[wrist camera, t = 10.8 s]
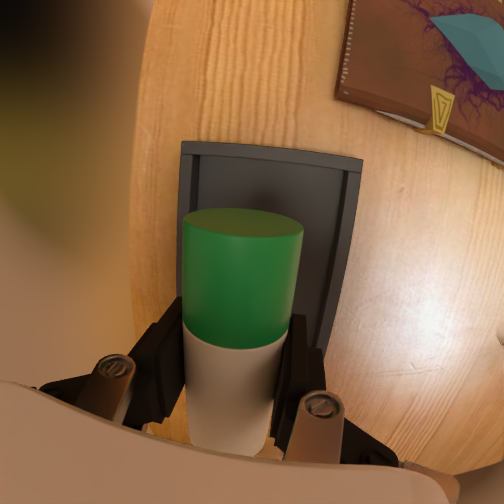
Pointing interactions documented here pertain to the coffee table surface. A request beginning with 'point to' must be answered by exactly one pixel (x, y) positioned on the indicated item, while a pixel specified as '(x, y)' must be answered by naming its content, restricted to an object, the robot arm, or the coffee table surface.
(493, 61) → the book
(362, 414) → the coffee table surface
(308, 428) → the robot arm
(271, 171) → the tray
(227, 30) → the coffee table surface
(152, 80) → the coffee table surface
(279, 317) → the marker
